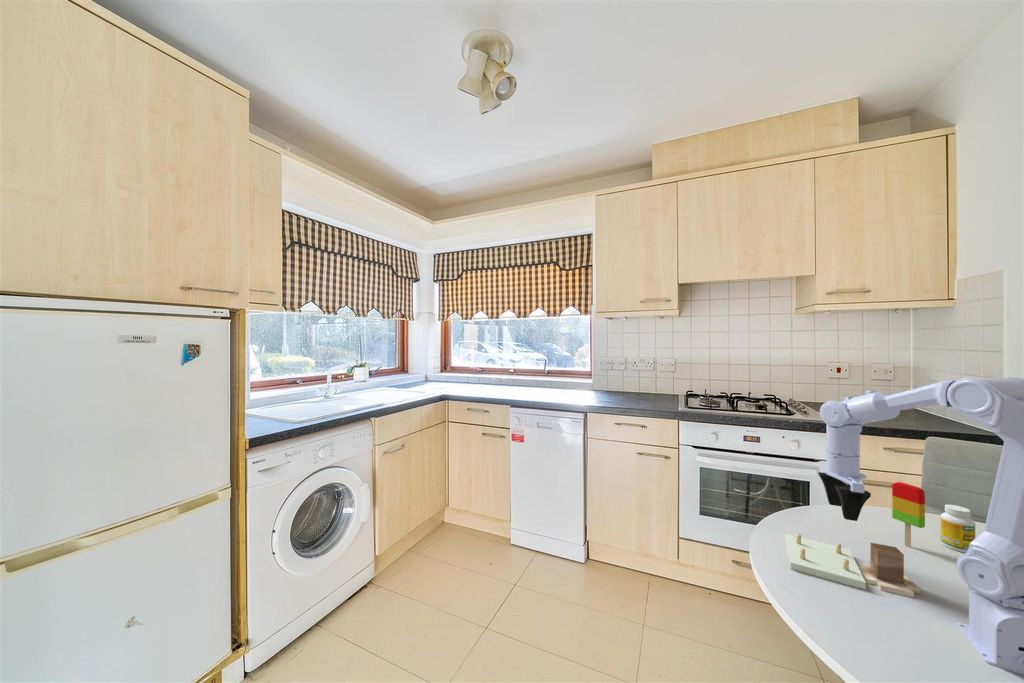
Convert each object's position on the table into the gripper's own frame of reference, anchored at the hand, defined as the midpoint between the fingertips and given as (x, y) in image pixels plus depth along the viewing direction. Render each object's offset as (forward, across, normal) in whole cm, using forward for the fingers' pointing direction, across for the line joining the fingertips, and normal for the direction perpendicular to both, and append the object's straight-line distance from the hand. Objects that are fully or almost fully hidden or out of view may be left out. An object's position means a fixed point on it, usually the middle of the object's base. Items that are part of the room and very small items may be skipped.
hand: (842, 512), depth 84 cm
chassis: (+10, -4, +5) cm, 12 cm away
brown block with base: (+11, -7, -5) cm, 14 cm away
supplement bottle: (+11, +16, -28) cm, 34 cm away
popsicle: (+11, +12, -17) cm, 23 cm away
